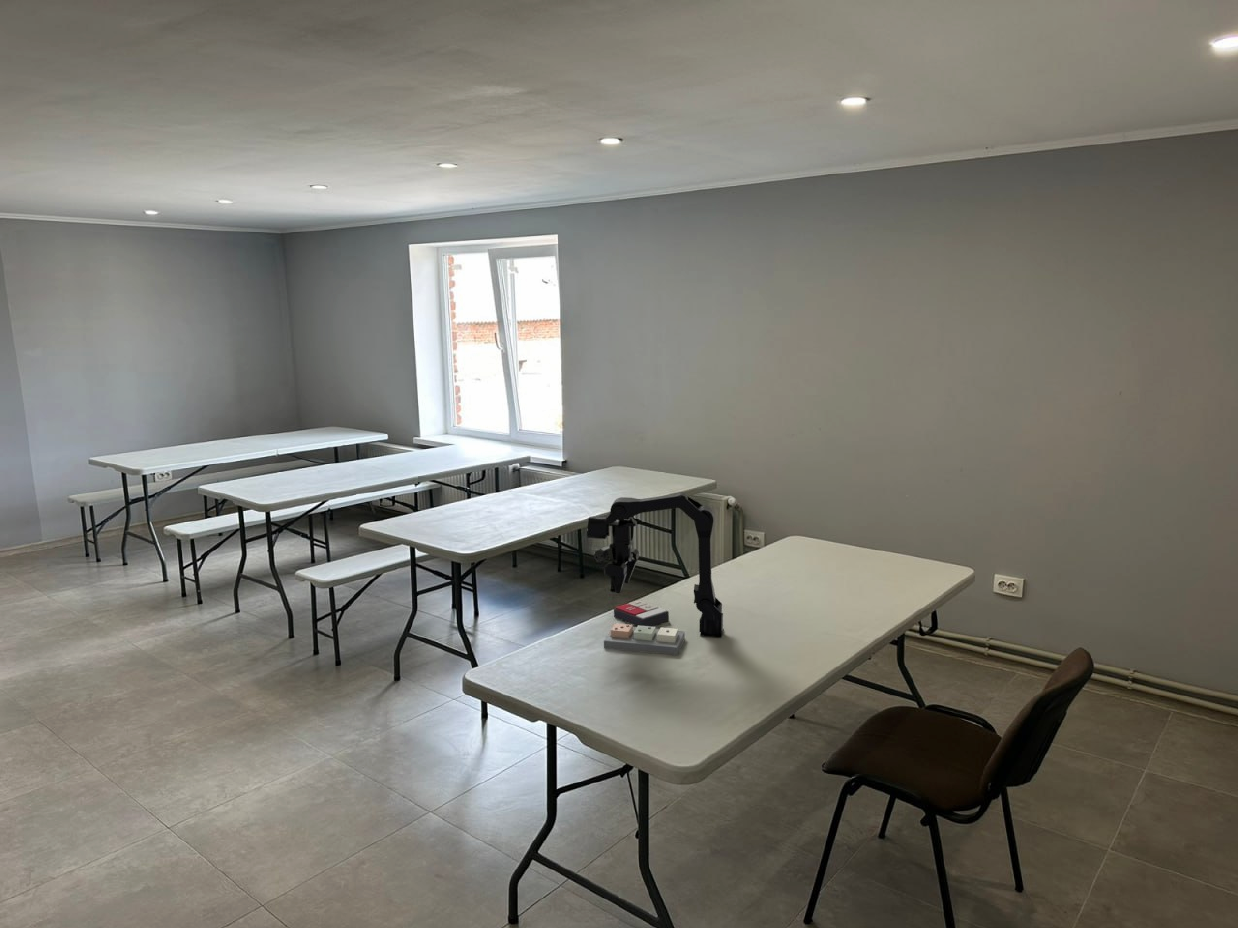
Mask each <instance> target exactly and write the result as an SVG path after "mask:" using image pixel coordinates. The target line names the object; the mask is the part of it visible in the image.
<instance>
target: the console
mask: <svg viewBox="0 0 1238 928" xmlns="http://www.w3.org/2000/svg"><path fill="white" fill-rule="evenodd" d="M636 628H637V627H635V626H633V633H632V635H631V637H630V638H629V639H628V638H617V637H611V630H609V632H608V633H607V635H606V637H605V638H604V640H603V648H604V649H609V650H617V651H618V650H621V651H630V652H641V653H650V654H662V655H670V656H671V655H672V656H678V655H679V652H680V650H681V647H682V645H683V644H684V641H685V631H684V630H678V639H677V641H676V643H671V642H660V641H657V633H658V631H659V629H660V628H655V637H654V638H653V640H652V641H649V640H639V639H634V631H635V629H636Z"/></svg>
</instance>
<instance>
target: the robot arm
mask: <svg viewBox="0 0 1238 928" xmlns="http://www.w3.org/2000/svg"><path fill="white" fill-rule="evenodd" d="M673 509H680V510H681V511H682V512H683V513H684V514H685V515H686V516H687V517H689V518H690V519H691V520H692V521H694V526H695V530H696V534H697V538H698V539H697V540H698V575H699V577H698V578H699V580H698V583H697V584H696V583H694V586H693V595H694V597H693V598H694V599H693V604H695V606H696V609H697V610H698V611H699V612H701V616H700V618H699V633H700V634H699V637H706V638H707V637H708V638H717V639H718V638H719V639H722V637H723V634H724V631H725V629H724V613H723V603H722V602H721V601H720V600H719V599H718V597H716V594H715V588H714V584H713V579H712V550H711V549H712V548H711V547H712V543H711V541H712V538H711V537H712V532H713V527H714V526H713V525H714V520H715V519H714V518H715V512H714V509H713V508H712V507H711V506H709V505H704V504H702V503H700V502H699V501H698V500H696V499H694V498H692V497H690V496H689V495H687V493H684V492H678V493H674V494H668V495H667V494H666V495H660V496H653V497H646V498H635V497H623V496H622V497H618V498H616V499H615V500H614V501H613V503H612V505H611V506H610V512H609V513H607V515H606V516H605V517H601V516H600V517H596V516H589V517H588V521H587V529H586V538H587V539H588V540H607V539H608V537H610V536H611V543H610V544H609V545H607V546H604V547H601V548H598V549H596V550H595V551H594V552H593V560H595V561H596V562H597V563H601V562H602V561H606V560H609V562H608V563H607V564H606V565H605V566H603V574H604V575H606V576H607V577H609V578H610V579H611V580H612V583H613V586H614V590H615V592H616V594H621V591H622V588H623V586H624V584H629V581H630V579H631V576H632V574H633V571H634V570H635V567H636V565H637V562H638V559H639V558H640V551H639V550H637V548H632V546H633V544H634V542H633V540H632V537H631V536H632V535H631V534H632V533H631V532H632V531H631V527H636V526H637V524H638V521H637V520H636V519H634V517H635V516H637V515H639V514H644V513H649V512H656V511H657V512H659V511H665V510H673Z"/></svg>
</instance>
